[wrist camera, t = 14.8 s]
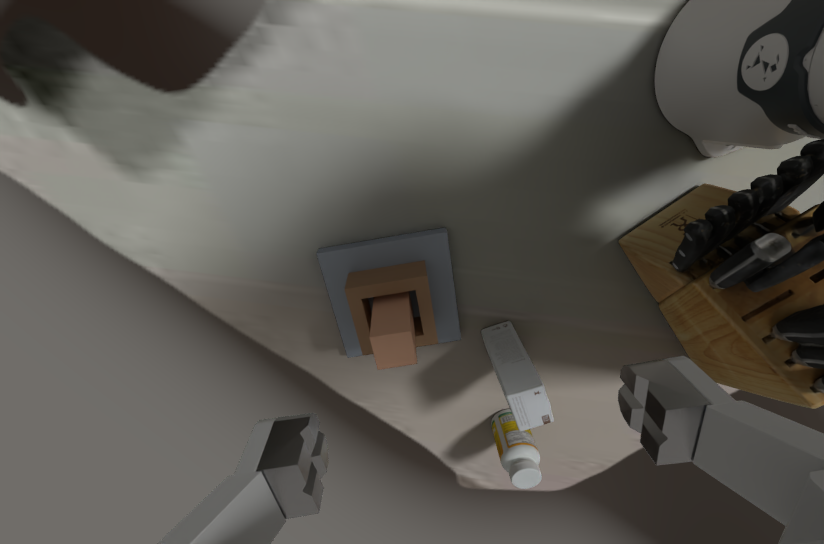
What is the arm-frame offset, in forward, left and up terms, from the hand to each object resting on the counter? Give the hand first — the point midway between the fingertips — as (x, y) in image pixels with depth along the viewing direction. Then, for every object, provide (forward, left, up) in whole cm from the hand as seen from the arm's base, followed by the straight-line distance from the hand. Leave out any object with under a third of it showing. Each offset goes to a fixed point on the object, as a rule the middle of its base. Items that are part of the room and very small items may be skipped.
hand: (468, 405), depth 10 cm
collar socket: (+5, +15, -34) cm, 38 cm away
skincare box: (-8, +25, -34) cm, 43 cm away
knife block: (-31, +17, -34) cm, 49 cm away
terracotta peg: (+5, +15, -33) cm, 36 cm away
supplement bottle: (-8, +40, -34) cm, 53 cm away
